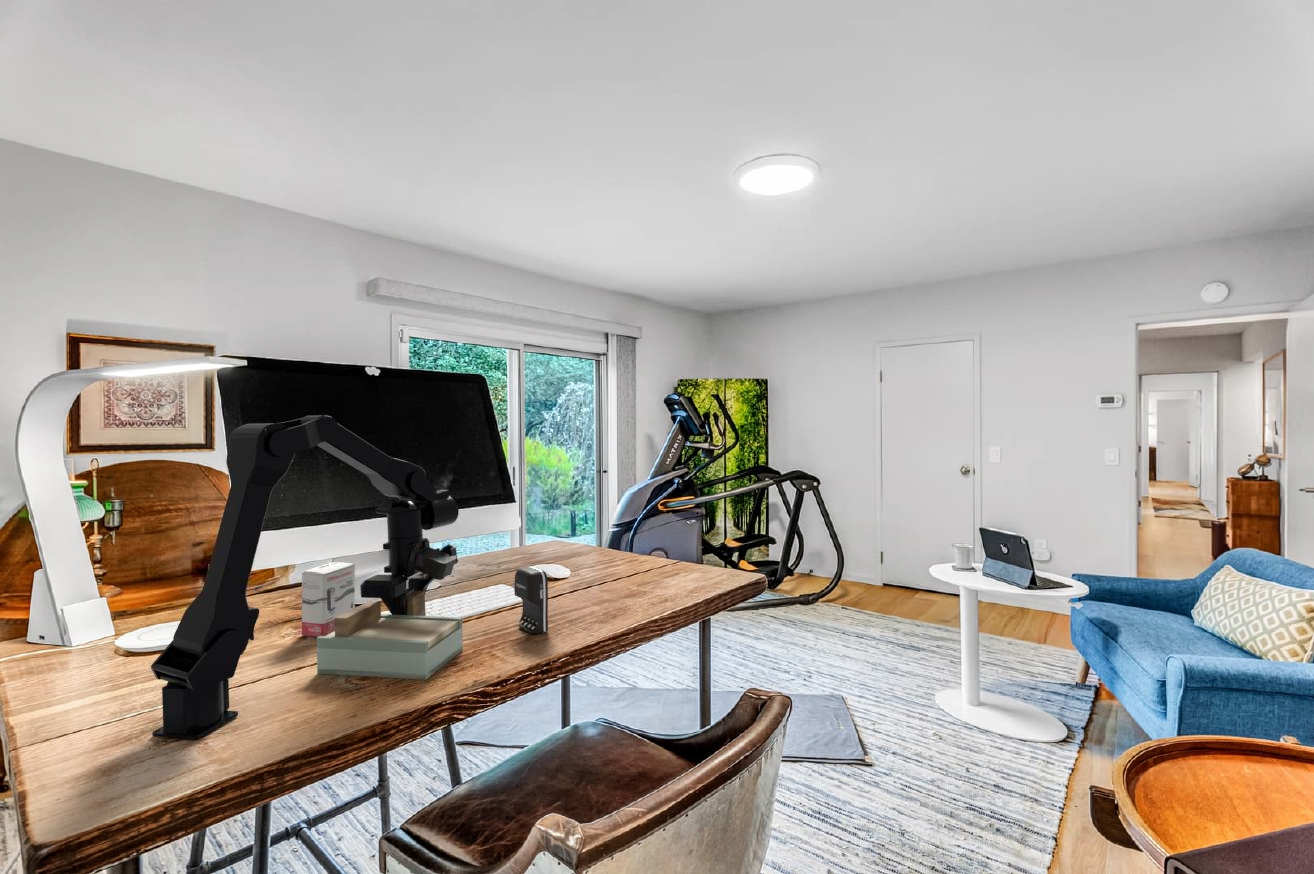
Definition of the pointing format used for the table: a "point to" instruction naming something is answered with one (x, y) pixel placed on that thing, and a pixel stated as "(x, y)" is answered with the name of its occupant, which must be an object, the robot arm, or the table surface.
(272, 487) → the robot arm
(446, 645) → the pale green tray
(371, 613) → the lid
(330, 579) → the ink box
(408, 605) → the small brown rectangular block
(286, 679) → the table surface
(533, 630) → the black handheld device
